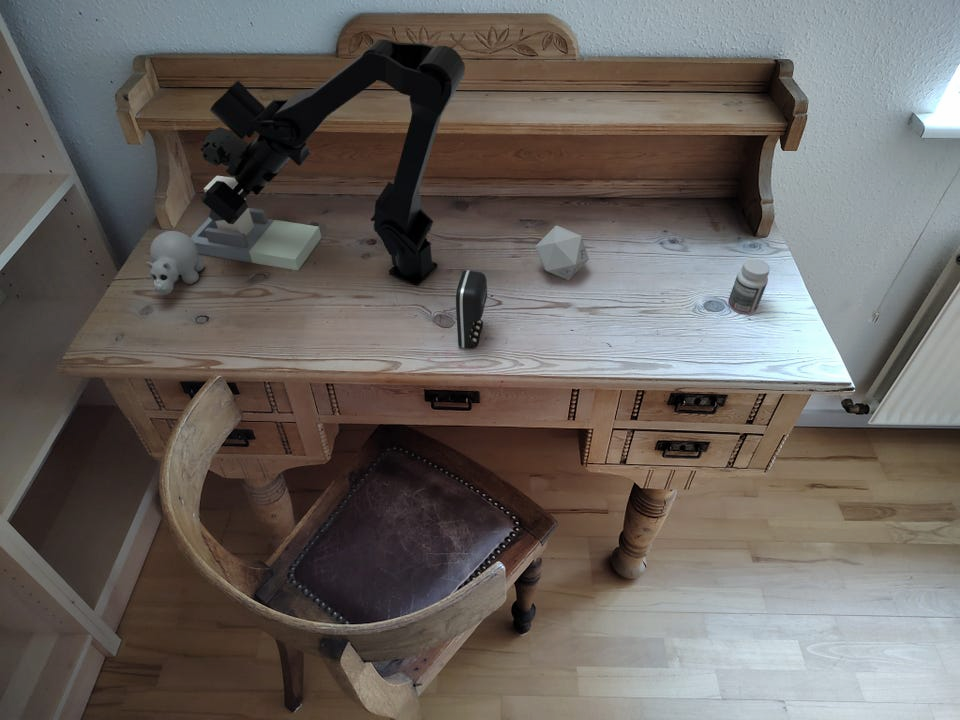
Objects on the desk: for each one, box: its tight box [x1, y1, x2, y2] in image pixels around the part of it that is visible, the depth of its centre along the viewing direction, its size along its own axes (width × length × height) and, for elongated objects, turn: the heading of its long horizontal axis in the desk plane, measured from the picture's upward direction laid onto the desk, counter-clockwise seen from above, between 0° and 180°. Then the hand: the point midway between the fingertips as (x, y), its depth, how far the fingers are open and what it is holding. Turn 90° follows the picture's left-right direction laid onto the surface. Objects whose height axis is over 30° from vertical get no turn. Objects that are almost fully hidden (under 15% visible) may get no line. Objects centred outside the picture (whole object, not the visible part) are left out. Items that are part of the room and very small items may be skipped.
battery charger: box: [455, 269, 488, 349], centre depth 102 cm, size 7×4×11 cm, turn 170°
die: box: [534, 225, 590, 281], centre depth 115 cm, size 8×9×10 cm
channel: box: [189, 207, 322, 271], centre depth 121 cm, size 22×10×5 cm, turn 75°
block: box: [203, 175, 254, 235], centre depth 118 cm, size 4×4×10 cm
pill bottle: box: [727, 258, 771, 315], centre depth 107 cm, size 5×5×8 cm
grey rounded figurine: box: [145, 230, 206, 296], centre depth 112 cm, size 8×12×9 cm, turn 176°
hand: (225, 204), depth 118 cm, fingers open, 9 cm apart
